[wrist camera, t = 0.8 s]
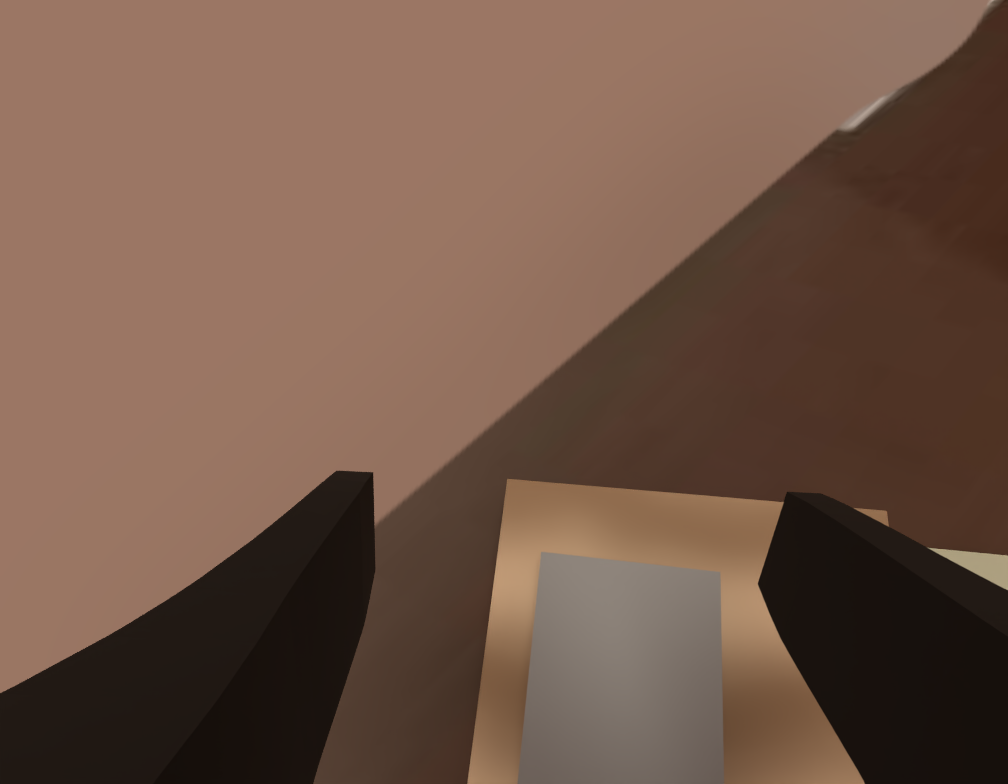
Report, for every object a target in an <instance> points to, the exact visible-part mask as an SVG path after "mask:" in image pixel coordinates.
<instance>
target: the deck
mask: <svg viewBox="0 0 1008 784" xmlns="http://www.w3.org/2000/svg"><path fill="white" fill-rule="evenodd" d="M783 503H784V502H774V501H762V500H750V499H738V498H726V497H715V496H703V495H691V494H679V493H667V492H655V491H643V490H632V489H620V488H608V487H596V486H584V485H572V484H560V483H548V482H537V481H525V480H513V479H507V486H506V494H505V502H504V509H503V517H502V524H501V532H500V540H499V547H498V555H497V562H496V570H495V578H494V585H493V593H492V600H491V608H490V616H489V623H488V631H487V639H486V646H485V654H484V661H483V669H482V677H481V684H480V692H479V699H478V707H477V715H476V722H475V730H474V737H473V745H472V753H471V760H470V768H469V775H468V783H467V784H517V783H518V773H519V764H520V754H521V744H522V734H523V725H524V715H525V705H526V695H527V686H528V676H529V666H530V656H531V647H532V637H533V627H534V617H535V608H536V598H537V588H538V578H539V569H540V559H541V552H548V553H557V554H565V555H574V556H583V557H592V558H601V559H610V560H619V561H627V562H636V563H645V564H654V565H663V566H672V567H680V568H689V569H698V570H707V571H716V572H720V579H721V636H722V693H723V750H724V784H865V783H864V781H863V779H862V777H861V775H860V774H859V772H858V770H857V768H856V767H855V765H854V763H853V762H852V760H851V758H850V757H849V755H848V753H847V752H846V750H845V748H844V746H843V745H842V743H841V741H840V740H839V738H838V736H837V735H836V733H835V731H834V730H833V728H832V726H831V724H830V723H829V721H828V719H827V718H826V716H825V714H824V713H823V711H822V709H821V708H820V706H819V704H818V703H817V701H816V699H815V697H814V696H813V694H812V692H811V691H810V689H809V687H808V686H807V684H806V682H805V680H804V679H803V677H802V675H801V674H800V672H799V670H798V668H797V667H796V665H795V663H794V661H793V660H792V658H791V656H790V655H789V653H788V651H787V649H786V647H785V646H784V644H783V642H782V640H781V638H780V636H779V634H778V632H777V630H776V627H775V625H774V623H773V621H772V618H771V616H770V614H769V611H768V609H767V606H766V604H765V601H764V599H763V596H762V594H761V591H760V589H759V586H758V581H759V578H760V575H761V572H762V568H763V565H764V562H765V559H766V556H767V553H768V550H769V547H770V543H771V540H772V537H773V534H774V531H775V528H776V525H777V522H778V519H779V515H780V512H781V509H782V506H783ZM854 509H856V510H858V511H860V512H862V513H864V514H865V515H867V516H869V517H871V518H873V519H875V520H877V521H879V522H881V523H883V524H884V525H886V526H888V527H889V525H888V518H887V511H881V510H869V509H857V508H854Z"/></svg>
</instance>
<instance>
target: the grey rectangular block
mask: <svg viewBox="0 0 1008 784" xmlns="http://www.w3.org/2000/svg"><path fill="white" fill-rule="evenodd" d="M517 784H724V750H723V693H722V636H721V579H720V572H716V571H707V570H698V569H689V568H680V567H672V566H663V565H654V564H645V563H636V562H627V561H619V560H610V559H601V558H592V557H583V556H574V555H565V554H557V553H548V552H541V559H540V569H539V578H538V588H537V598H536V608H535V617H534V627H533V637H532V647H531V656H530V666H529V676H528V686H527V695H526V705H525V715H524V725H523V734H522V744H521V754H520V764H519V773H518V783H517Z"/></svg>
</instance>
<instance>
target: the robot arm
mask: <svg viewBox="0 0 1008 784" xmlns="http://www.w3.org/2000/svg"><path fill="white" fill-rule="evenodd" d="M373 491H374V489H373V472H352V471H336V472H334V473H333V474H332V475H331V476H329V477H328V478H327V479H326V480H325V481H324V482H322V483H321V484H320V485H319V486H317V487H316V488H315V489H314V490H313V491H312V492H310V493H309V494H308V495H307V496H306V497H304V498H303V499H302V500H301V501H300V502H298V503H297V504H296V505H295V506H294V507H292V508H291V509H290V510H289V511H288V512H286V513H285V514H284V515H283V516H282V517H280V518H279V519H278V520H277V521H275V522H274V523H273V524H272V525H271V526H270V527H268V528H267V529H265V530H264V531H263V532H262V533H261V534H259V535H258V536H257V537H256V538H254V539H253V540H252V541H250V542H249V543H248V544H246V545H245V546H244V547H242V548H241V549H240V550H238V551H237V552H235V553H234V554H233V555H231V556H230V557H228V558H227V559H226V560H224V561H223V562H222V563H220V564H219V565H217V566H216V567H215V568H213V569H212V570H211V571H209V572H208V573H207V574H205V575H204V576H203V577H201V578H200V579H198V580H197V581H195V582H194V583H192V584H191V585H189V586H188V587H186V588H185V589H183V590H182V591H180V592H179V593H177V594H176V595H174V596H172V597H171V598H170V599H168V600H166V601H165V602H163V603H162V604H160V605H158V606H157V607H155V608H153V609H152V610H150V611H148V612H147V613H145V614H144V615H142V616H140V617H139V618H137V619H135V620H134V621H132V622H131V623H129V624H127V625H126V626H124V627H122V628H121V629H119V630H117V631H115V632H114V633H112V634H110V635H109V636H107V637H105V638H103V639H101V640H99V641H98V642H96V643H94V644H92V645H90V646H88V647H86V648H85V649H83V650H81V651H79V652H77V653H75V654H73V655H72V656H70V657H68V658H66V659H64V660H62V661H60V662H59V663H57V664H55V665H53V666H51V667H49V668H48V669H46V670H44V671H42V672H40V673H38V674H36V675H35V676H33V677H31V678H29V679H27V680H25V681H23V682H22V683H20V684H18V685H16V686H14V687H12V688H10V689H8V690H6V691H4V692H2V693H0V784H313V782H314V779H315V775H316V772H317V768H318V765H319V762H320V758H321V755H322V752H323V749H324V746H325V743H326V740H327V737H328V734H329V731H330V728H331V725H332V722H333V719H334V716H335V713H336V710H337V707H338V704H339V701H340V698H341V695H342V692H343V689H344V686H345V683H346V680H347V676H348V673H349V670H350V667H351V664H352V661H353V658H354V655H355V652H356V649H357V646H358V643H359V640H360V636H361V633H362V630H363V627H364V623H365V618H366V614H367V609H368V604H369V599H370V594H371V589H372V584H373V579H374V574H375V533H374V494H373V493H374V492H373ZM758 586H759V589H760V591H761V594H762V596H763V599H764V601H765V604H766V606H767V609H768V611H769V614H770V616H771V618H772V621H773V623H774V625H775V627H776V630H777V632H778V634H779V636H780V638H781V640H782V642H783V644H784V646H785V647H786V649H787V651H788V653H789V655H790V656H791V658H792V660H793V661H794V663H795V665H796V667H797V668H798V670H799V672H800V674H801V675H802V677H803V679H804V680H805V682H806V684H807V686H808V687H809V689H810V691H811V692H812V694H813V696H814V697H815V699H816V701H817V703H818V704H819V706H820V708H821V709H822V711H823V713H824V714H825V716H826V718H827V719H828V721H829V723H830V724H831V726H832V728H833V730H834V731H835V733H836V735H837V736H838V738H839V740H840V741H841V743H842V745H843V746H844V748H845V750H846V752H847V753H848V755H849V757H850V758H851V760H852V762H853V763H854V765H855V767H856V768H857V770H858V772H859V774H860V775H861V777H862V779H863V781H864V783H865V784H1008V590H1006V589H1004V588H1002V587H1000V586H998V585H997V584H995V583H993V582H991V581H989V580H987V579H985V578H983V577H981V576H979V575H977V574H975V573H974V572H972V571H970V570H968V569H966V568H964V567H962V566H960V565H959V564H957V563H955V562H953V561H951V560H949V559H947V558H945V557H944V556H942V555H940V554H938V553H936V552H934V551H933V550H931V549H929V548H927V547H925V546H923V545H921V544H920V543H918V542H916V541H914V540H912V539H910V538H909V537H907V536H905V535H903V534H901V533H899V532H897V531H896V530H894V529H892V528H890V527H888V526H886V525H884V524H883V523H881V522H879V521H877V520H875V519H873V518H871V517H869V516H867V515H865V514H864V513H862V512H860V511H858V510H856V509H854V508H852V507H850V506H848V505H846V504H844V503H841V502H839V501H837V500H835V499H833V498H830V497H828V496H825V495H823V494H819V493H798V492H787V494H786V497H785V500H784V503H783V506H782V509H781V512H780V515H779V519H778V522H777V525H776V528H775V531H774V534H773V537H772V540H771V543H770V547H769V550H768V553H767V556H766V559H765V562H764V565H763V568H762V572H761V575H760V578H759V581H758Z"/></svg>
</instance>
